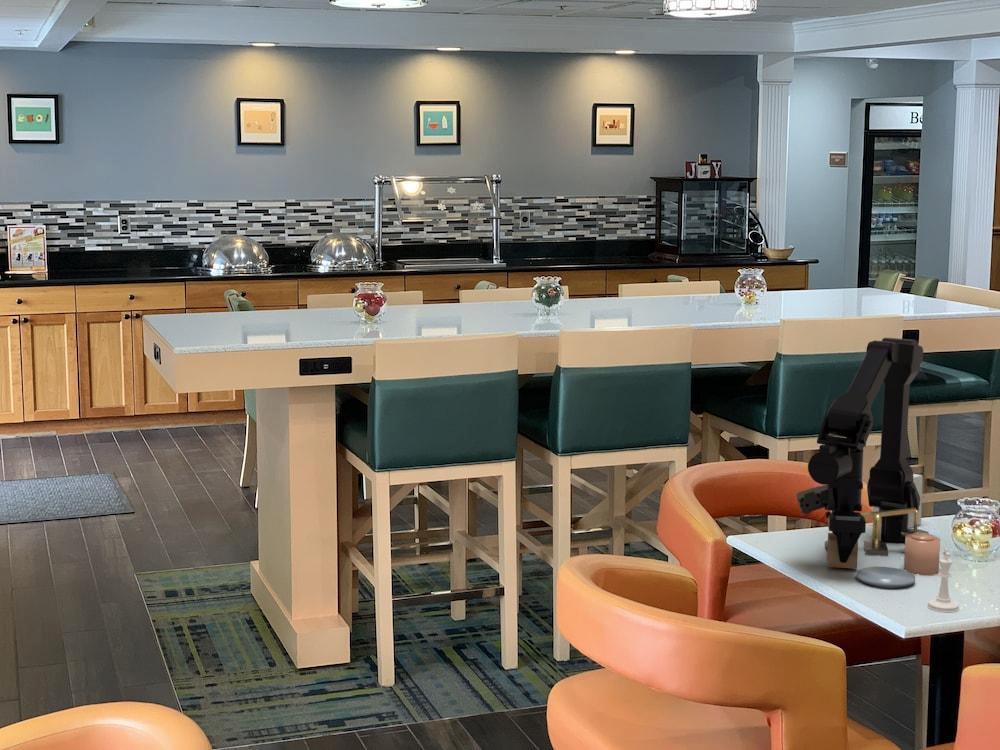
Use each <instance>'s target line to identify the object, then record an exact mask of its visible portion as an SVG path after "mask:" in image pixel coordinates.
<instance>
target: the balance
mask: <svg viewBox="0 0 1000 750" xmlns="http://www.w3.org/2000/svg"><path fill="white" fill-rule="evenodd" d="M909 513H915V514H914V527H913V528H908V529H904V530H902V531H901V535H902V536H904V537H906V536H907V535H910V534H913V533H928V534H930V533H929V531H927V530H923V529H919V528H918V526H917V520H918V510H916V508H915V507H914V508H905V509H896V510H887V511H878V512H873V511H871V512H864V513H860V514H861V515H862V516H863V517H864V518H865V519H871V518H872V527H871V528H872V532H871V534H872V535H871V541H868V540H867V541H866V540H864V541H863V549H864V552H866V553H865V555H866V554H868V555H867V556H877V555H885V556H884V557H888V556H889V549H888V546H887V543H886V541H881V524H882V517H883V516H892V515H901V514H909ZM824 547H825V548H826V549H828V540H826V541H824Z"/></svg>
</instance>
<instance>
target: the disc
mask: <svg viewBox="0 0 1000 750" xmlns="http://www.w3.org/2000/svg"><path fill="white" fill-rule="evenodd" d="M855 577H856V578H857V579H858V580H860V581H862V582H863V581H864V582H863V583H865V582H866V583H865V584H867V583H868V584H867V585H869V584H871V585H870V586H873V585H875V586H874V587H877V586H878V588H886V589H895V588H896V589H898V588H899V587H900V588H904V586H905V587H907V586H910V585H912V584H914V583H915V582H916V576H915V574H912V573H910V572H908V571H905V570H904V569H901V568H896V567H892V566H891V567H889V566H866V567H862V568H859V569H857V571H856V573H855Z"/></svg>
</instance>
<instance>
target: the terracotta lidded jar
mask: <svg viewBox="0 0 1000 750" xmlns="http://www.w3.org/2000/svg"><path fill="white" fill-rule="evenodd" d="M940 551H941V538H940V537H937V536H935V535H934V534H931V533H929V534H928V533H913V534H910V535H907V536H906V537H905V542H904V558H903V561H904V562H903V570H906V571H908V572H910V573H914V574H913V575H916V574H919V575H918V576H935V575H938V573H939V570H940V569H939V568H940V563H939V560H940V555H941V553H940ZM934 574H935V575H934Z"/></svg>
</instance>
